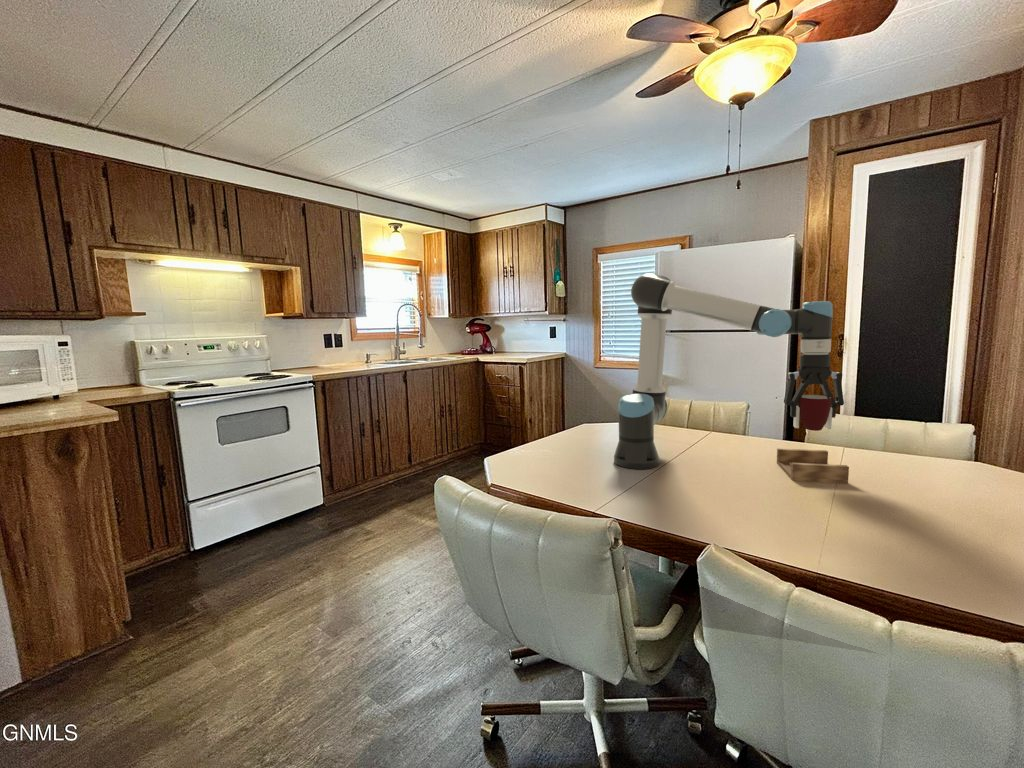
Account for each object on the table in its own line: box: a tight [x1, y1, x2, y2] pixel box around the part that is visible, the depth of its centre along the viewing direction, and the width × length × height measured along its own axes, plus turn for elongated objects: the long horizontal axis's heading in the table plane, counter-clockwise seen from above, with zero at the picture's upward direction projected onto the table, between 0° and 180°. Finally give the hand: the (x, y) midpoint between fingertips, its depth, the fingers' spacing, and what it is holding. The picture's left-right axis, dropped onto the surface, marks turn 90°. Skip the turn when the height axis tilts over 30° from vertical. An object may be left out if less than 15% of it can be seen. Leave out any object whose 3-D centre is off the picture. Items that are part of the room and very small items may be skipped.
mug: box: [798, 394, 831, 432], centre depth 134 cm, size 11×8×10 cm
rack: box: [776, 448, 850, 484], centre depth 136 cm, size 14×17×5 cm
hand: (811, 427), depth 134 cm, fingers closed on mug, 8 cm apart
